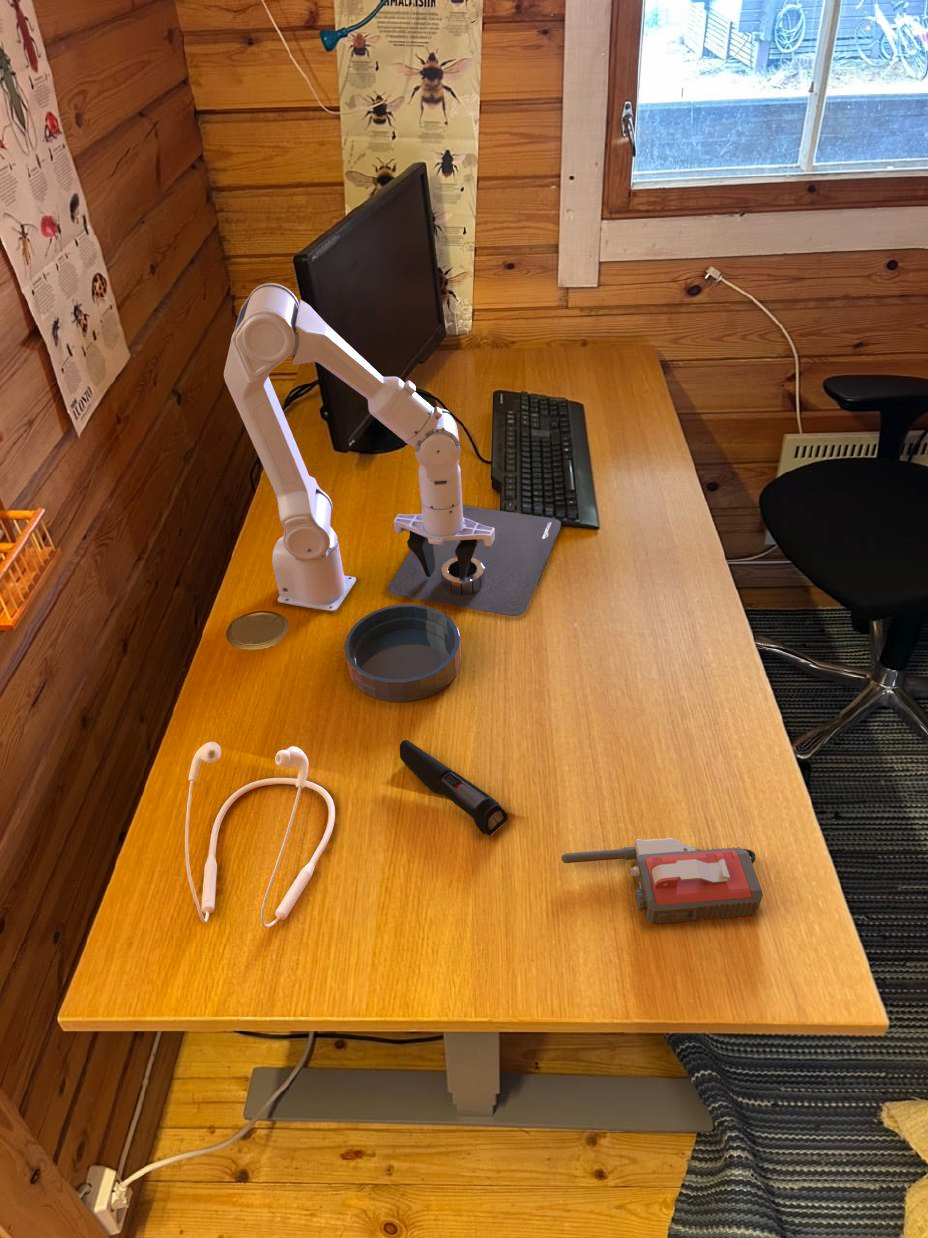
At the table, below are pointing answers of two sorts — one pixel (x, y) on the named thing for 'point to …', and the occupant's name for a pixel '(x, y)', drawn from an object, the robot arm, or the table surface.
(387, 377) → the robot arm
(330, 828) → the earphone
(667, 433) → the table surface
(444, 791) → the electric trimmer
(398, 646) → the bowl
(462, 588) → the steel ring
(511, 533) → the mouse pad
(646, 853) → the walkie-talkie
